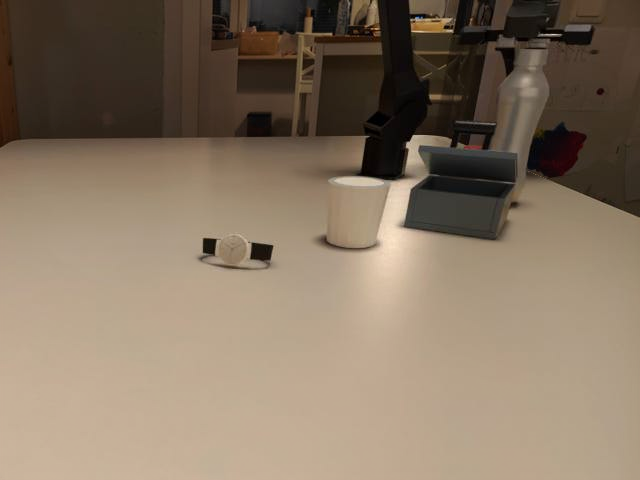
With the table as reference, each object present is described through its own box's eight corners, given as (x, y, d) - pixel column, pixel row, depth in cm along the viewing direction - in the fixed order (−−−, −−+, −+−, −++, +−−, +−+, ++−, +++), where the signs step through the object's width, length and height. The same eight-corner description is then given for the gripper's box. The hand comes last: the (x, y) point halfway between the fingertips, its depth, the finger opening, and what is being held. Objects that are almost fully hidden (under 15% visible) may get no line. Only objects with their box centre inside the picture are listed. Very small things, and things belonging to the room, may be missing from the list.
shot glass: (384, 236, 75) (394, 177, 71) (376, 252, 69) (387, 189, 66) (327, 230, 77) (334, 173, 74) (315, 245, 72) (322, 184, 68)
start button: (482, 160, 103) (485, 149, 102) (459, 158, 105) (462, 147, 104) (486, 156, 106) (488, 146, 105) (463, 155, 108) (466, 144, 107)
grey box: (494, 239, 73) (505, 199, 71) (403, 226, 79) (410, 188, 76) (506, 220, 81) (515, 183, 79) (422, 209, 86) (429, 174, 84)
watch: (195, 263, 66) (196, 230, 64) (209, 251, 70) (210, 219, 68) (266, 272, 63) (269, 238, 62) (276, 258, 67) (279, 226, 66)
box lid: (515, 159, 69) (527, 118, 69) (417, 151, 74) (427, 113, 74) (515, 183, 79) (526, 147, 78) (429, 174, 84) (438, 141, 83)
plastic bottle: (508, 197, 92) (546, 48, 83) (527, 208, 87) (571, 49, 77) (464, 196, 93) (497, 49, 84) (480, 207, 87) (517, 49, 78)
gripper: (462, -16, 94) (441, 95, 101) (608, -22, 84) (573, 100, 92) (474, -12, 102) (454, 90, 109) (609, -17, 93) (576, 95, 100)
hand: (510, 94), depth 102 cm, fingers closed
